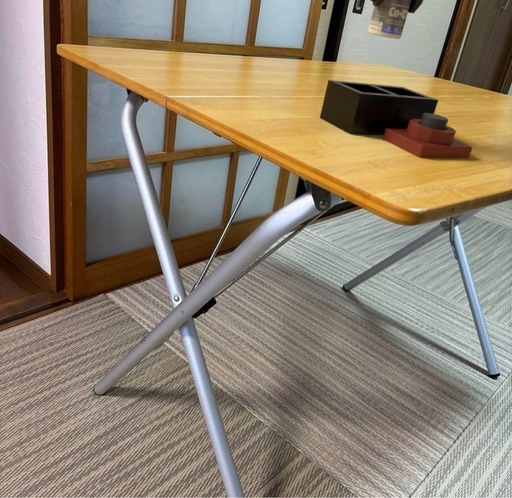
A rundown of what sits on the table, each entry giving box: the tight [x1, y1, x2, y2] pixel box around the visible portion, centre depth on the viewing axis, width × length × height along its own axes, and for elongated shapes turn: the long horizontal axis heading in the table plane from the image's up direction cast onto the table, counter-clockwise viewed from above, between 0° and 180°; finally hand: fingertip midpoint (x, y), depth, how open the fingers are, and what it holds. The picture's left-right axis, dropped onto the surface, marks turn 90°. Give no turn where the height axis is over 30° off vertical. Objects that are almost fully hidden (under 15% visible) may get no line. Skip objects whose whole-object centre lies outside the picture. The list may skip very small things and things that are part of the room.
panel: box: [382, 119, 473, 159], centre depth 75 cm, size 10×8×4 cm
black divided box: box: [319, 79, 439, 137], centre depth 81 cm, size 16×8×6 cm, turn 117°
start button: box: [420, 113, 449, 130], centre depth 74 cm, size 4×4×2 cm
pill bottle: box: [367, 0, 411, 40], centre depth 71 cm, size 5×5×8 cm
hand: (397, 5), depth 70 cm, fingers closed on pill bottle, 4 cm apart
